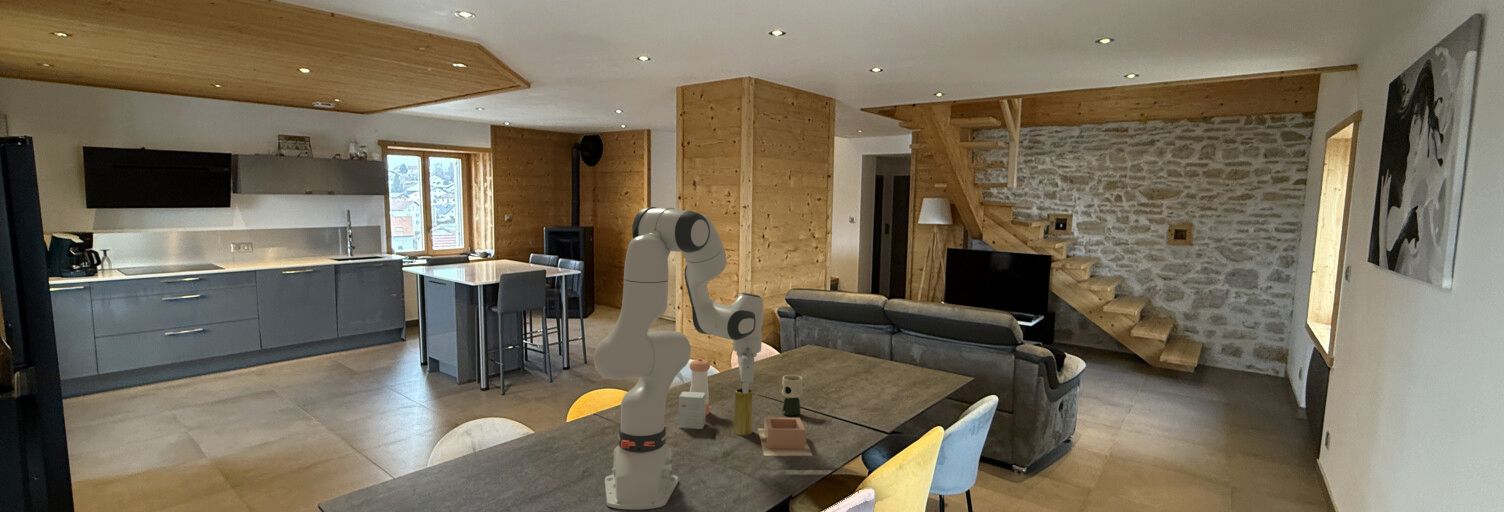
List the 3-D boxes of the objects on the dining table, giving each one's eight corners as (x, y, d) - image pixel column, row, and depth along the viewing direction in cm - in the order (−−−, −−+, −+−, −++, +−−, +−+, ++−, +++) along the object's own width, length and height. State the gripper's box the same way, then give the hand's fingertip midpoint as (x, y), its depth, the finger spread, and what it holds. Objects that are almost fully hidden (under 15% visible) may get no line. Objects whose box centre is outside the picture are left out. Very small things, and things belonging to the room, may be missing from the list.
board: (812, 459, 186) (812, 455, 186) (763, 459, 185) (763, 455, 185) (801, 431, 208) (801, 428, 208) (757, 431, 207) (757, 428, 207)
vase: (750, 439, 200) (751, 394, 199) (730, 437, 201) (732, 392, 200) (754, 432, 206) (755, 388, 205) (735, 430, 207) (736, 386, 206)
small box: (705, 423, 213) (706, 392, 212) (702, 429, 207) (703, 397, 206) (681, 422, 213) (682, 390, 213) (678, 428, 208) (678, 396, 207)
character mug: (774, 411, 228) (775, 374, 227) (791, 408, 231) (792, 372, 230) (791, 420, 218) (792, 382, 217) (808, 417, 222) (810, 380, 221)
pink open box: (804, 448, 191) (805, 430, 191) (767, 448, 190) (767, 430, 190) (799, 434, 202) (799, 417, 202) (764, 434, 201) (764, 417, 201)
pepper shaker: (684, 414, 221) (685, 359, 219) (692, 408, 228) (694, 354, 226) (704, 417, 219) (706, 361, 217) (712, 410, 226) (713, 356, 224)
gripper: (760, 354, 191) (756, 399, 192) (755, 336, 211) (752, 378, 213) (738, 353, 190) (735, 398, 192) (735, 335, 210) (733, 377, 212)
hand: (744, 387), depth 202 cm, fingers open, 8 cm apart
